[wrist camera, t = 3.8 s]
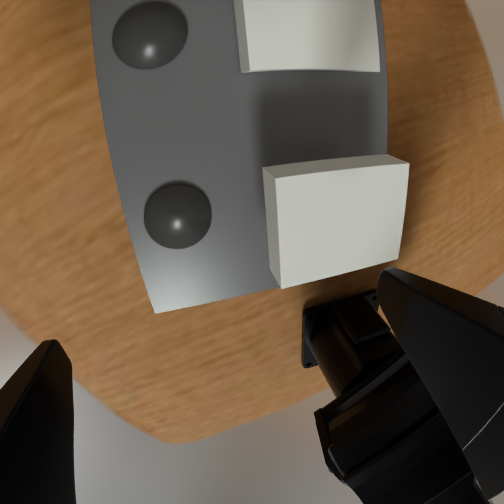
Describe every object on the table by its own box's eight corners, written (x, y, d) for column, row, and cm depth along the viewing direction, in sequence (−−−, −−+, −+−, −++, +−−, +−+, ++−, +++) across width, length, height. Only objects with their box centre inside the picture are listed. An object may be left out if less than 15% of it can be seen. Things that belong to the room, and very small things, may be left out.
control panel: (353, 239, 20) (379, 263, 18) (155, 281, 18) (155, 316, 16) (323, -119, 7) (347, -139, 5) (107, -117, 5) (100, -144, 2)
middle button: (363, 71, 12) (382, 72, 11) (240, 73, 11) (250, 70, 10) (355, -12, 10) (373, -19, 9) (231, -22, 9) (239, -34, 8)
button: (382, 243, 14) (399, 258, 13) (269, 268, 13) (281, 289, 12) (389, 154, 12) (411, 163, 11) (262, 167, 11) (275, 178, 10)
